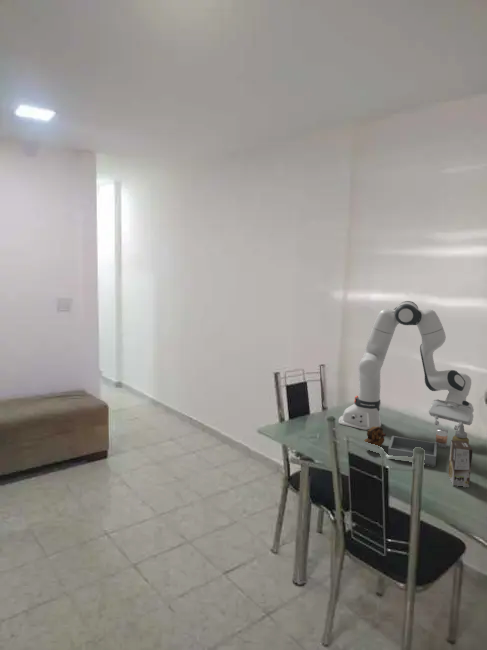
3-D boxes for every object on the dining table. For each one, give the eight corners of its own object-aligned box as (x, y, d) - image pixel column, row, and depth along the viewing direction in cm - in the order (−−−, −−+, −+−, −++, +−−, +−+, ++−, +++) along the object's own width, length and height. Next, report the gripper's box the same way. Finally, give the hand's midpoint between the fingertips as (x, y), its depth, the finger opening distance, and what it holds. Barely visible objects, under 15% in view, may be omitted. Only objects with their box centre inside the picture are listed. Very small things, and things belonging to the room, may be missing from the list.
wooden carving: (371, 454, 217) (372, 434, 215) (362, 451, 220) (363, 431, 218) (387, 444, 229) (388, 424, 227) (378, 441, 232) (379, 422, 230)
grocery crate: (387, 458, 212) (388, 448, 212) (391, 445, 227) (392, 435, 226) (435, 467, 205) (436, 456, 204) (436, 452, 219) (436, 442, 218)
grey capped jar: (435, 446, 226) (436, 431, 225) (435, 442, 231) (436, 427, 229) (446, 448, 224) (448, 432, 223) (446, 444, 229) (448, 429, 227)
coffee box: (469, 488, 187) (473, 449, 184) (452, 486, 188) (455, 448, 186) (463, 477, 196) (467, 440, 193) (447, 475, 197) (450, 439, 194)
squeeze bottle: (466, 460, 212) (469, 422, 209) (470, 468, 204) (474, 429, 201) (447, 458, 214) (450, 420, 211) (450, 466, 206) (454, 427, 203)
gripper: (432, 395, 240) (423, 418, 234) (475, 404, 226) (466, 429, 220) (435, 401, 244) (426, 424, 238) (477, 411, 230) (468, 435, 224)
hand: (445, 427), depth 229 cm, fingers open, 8 cm apart
